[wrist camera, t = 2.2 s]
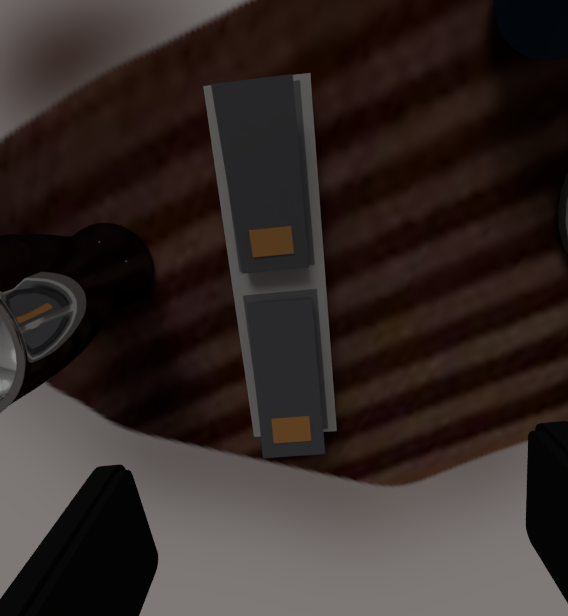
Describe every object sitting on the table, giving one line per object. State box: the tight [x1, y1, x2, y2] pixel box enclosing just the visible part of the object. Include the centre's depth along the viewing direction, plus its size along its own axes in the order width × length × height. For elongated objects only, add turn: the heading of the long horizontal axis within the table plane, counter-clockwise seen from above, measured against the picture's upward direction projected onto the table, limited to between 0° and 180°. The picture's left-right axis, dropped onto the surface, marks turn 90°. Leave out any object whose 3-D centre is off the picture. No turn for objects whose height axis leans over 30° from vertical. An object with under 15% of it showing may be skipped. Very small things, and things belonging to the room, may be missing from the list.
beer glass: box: [0, 223, 153, 412], centre depth 22 cm, size 7×7×15 cm
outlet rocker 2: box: [247, 297, 325, 458], centre depth 26 cm, size 4×10×1 cm, turn 6°
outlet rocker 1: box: [211, 74, 309, 274], centre depth 22 cm, size 4×10×1 cm, turn 6°
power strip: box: [203, 73, 337, 437], centre depth 27 cm, size 23×6×3 cm, turn 6°
